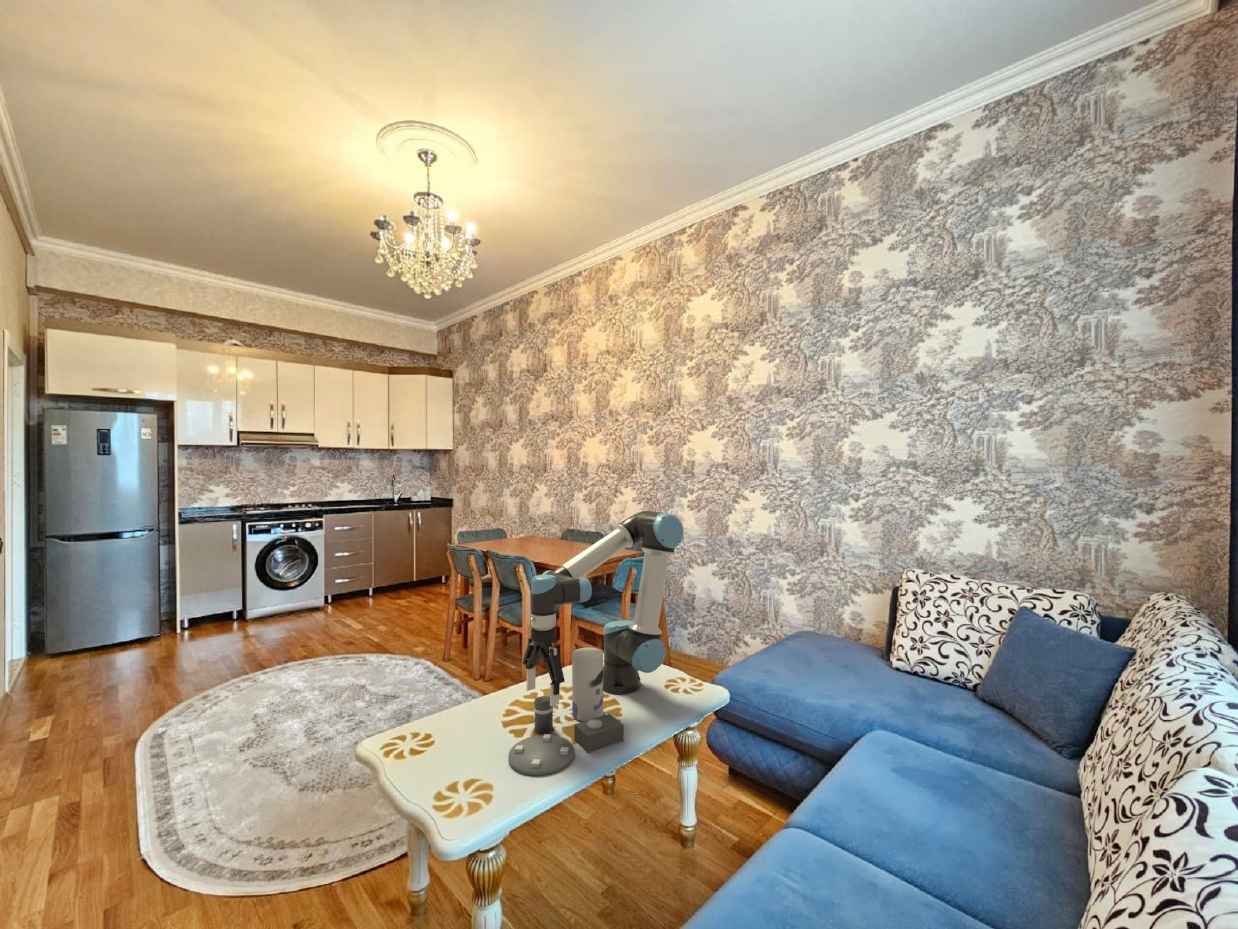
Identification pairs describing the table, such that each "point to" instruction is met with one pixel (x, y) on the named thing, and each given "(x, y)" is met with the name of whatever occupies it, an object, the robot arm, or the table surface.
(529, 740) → the plate
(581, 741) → the camera body block
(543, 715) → the grey rounded cylinder
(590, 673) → the container
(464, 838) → the table surface
